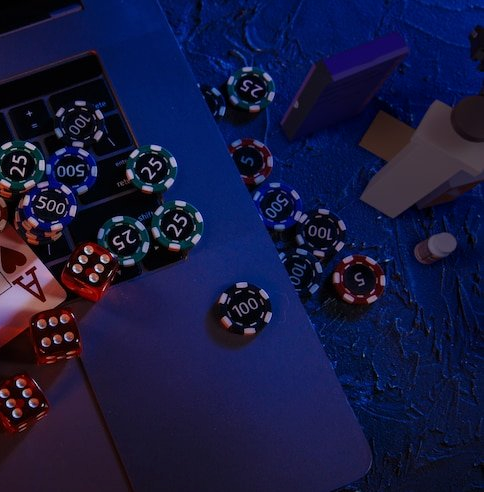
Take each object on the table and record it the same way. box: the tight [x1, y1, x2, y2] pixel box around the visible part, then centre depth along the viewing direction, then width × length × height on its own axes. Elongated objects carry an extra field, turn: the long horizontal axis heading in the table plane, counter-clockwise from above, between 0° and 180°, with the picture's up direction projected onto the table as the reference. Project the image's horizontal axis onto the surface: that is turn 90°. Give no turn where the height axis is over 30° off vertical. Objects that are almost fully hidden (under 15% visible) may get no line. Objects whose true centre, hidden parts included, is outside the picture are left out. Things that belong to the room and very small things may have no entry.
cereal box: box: [279, 29, 411, 142], centre depth 125 cm, size 17×5×24 cm, turn 113°
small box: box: [415, 170, 484, 210], centre depth 125 cm, size 8×6×13 cm
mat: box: [358, 109, 416, 163], centre depth 134 cm, size 12×10×1 cm
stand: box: [359, 99, 484, 219], centre depth 117 cm, size 12×8×30 cm, turn 56°
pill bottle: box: [414, 232, 458, 265], centre depth 124 cm, size 5×5×8 cm
